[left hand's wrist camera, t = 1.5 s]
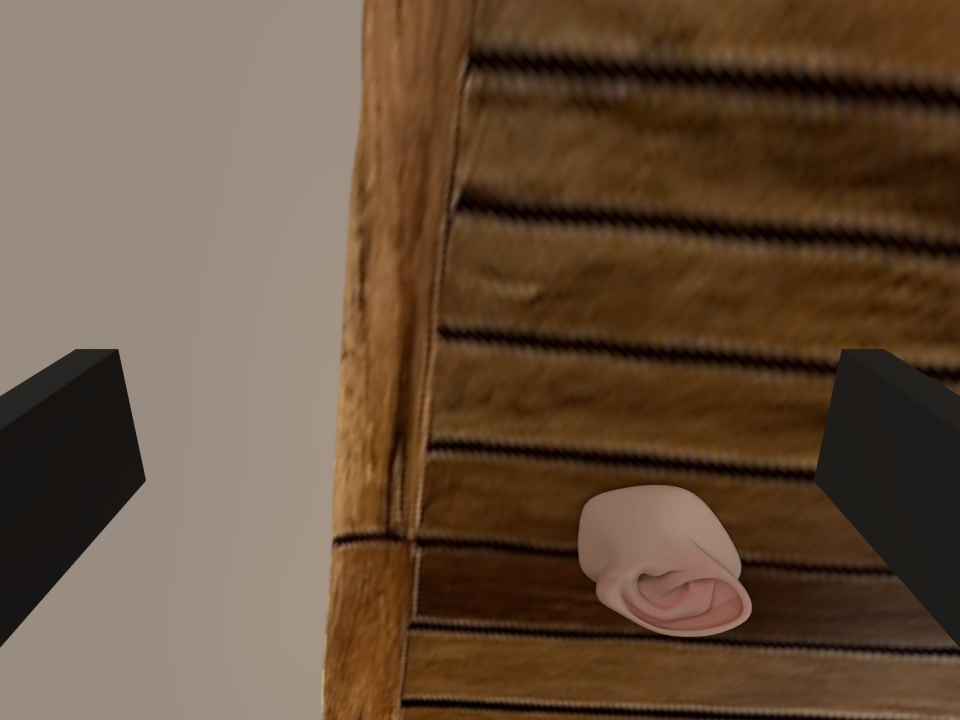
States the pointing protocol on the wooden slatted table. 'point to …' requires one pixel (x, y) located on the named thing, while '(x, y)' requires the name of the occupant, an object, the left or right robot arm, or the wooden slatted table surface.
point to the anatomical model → (662, 561)
